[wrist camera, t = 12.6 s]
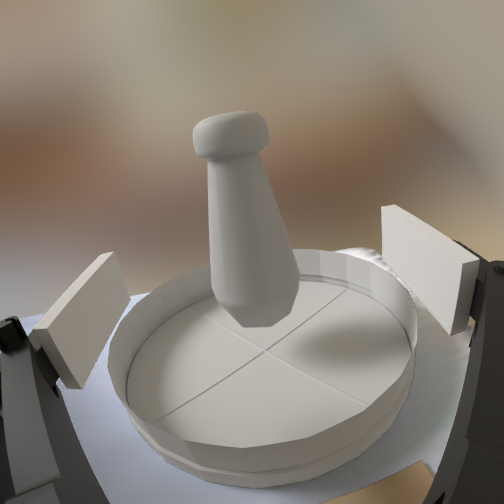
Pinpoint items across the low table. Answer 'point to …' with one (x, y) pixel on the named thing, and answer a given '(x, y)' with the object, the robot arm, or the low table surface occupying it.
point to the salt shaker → (245, 222)
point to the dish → (268, 373)
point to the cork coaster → (393, 488)
